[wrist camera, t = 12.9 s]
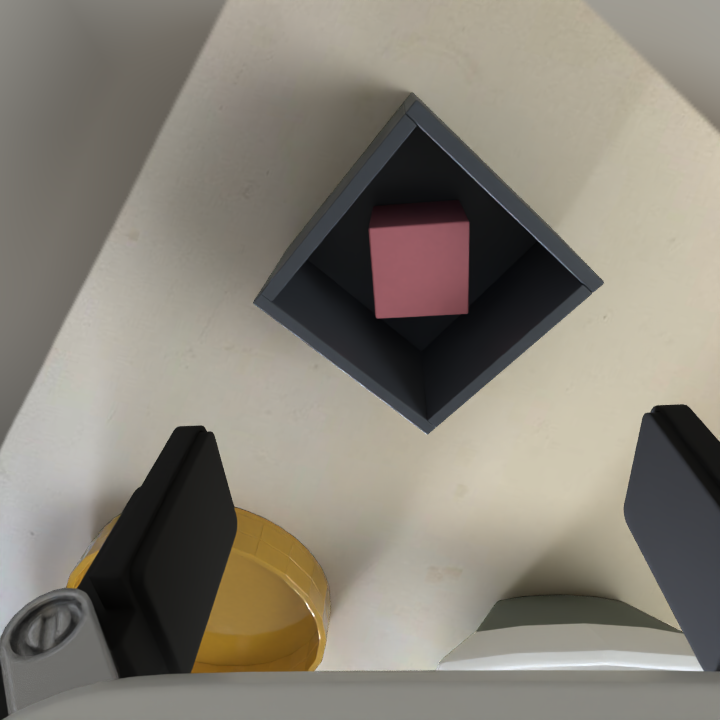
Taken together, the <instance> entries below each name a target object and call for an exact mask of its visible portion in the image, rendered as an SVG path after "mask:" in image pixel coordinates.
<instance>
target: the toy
mask: <svg viewBox="0 0 720 720" xmlns="http://www.w3.org/2000/svg"><path fill="white" fill-rule="evenodd" d="M368 231H369V244H370V256H371V269H372V281H373V294H374V306H375V317H376V318H377V319H381V318H400V317H419V316H437V315H456V314H468V306H469V220H468V218H467V216H466V214H465V212H464V210H463V207H462V205H461V203H460V201H459V200H449V201H436V202H422V203H409V204H395V205H382V206H374V207H373V209H372V214H371V219H370V224H369V229H368Z"/></svg>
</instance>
